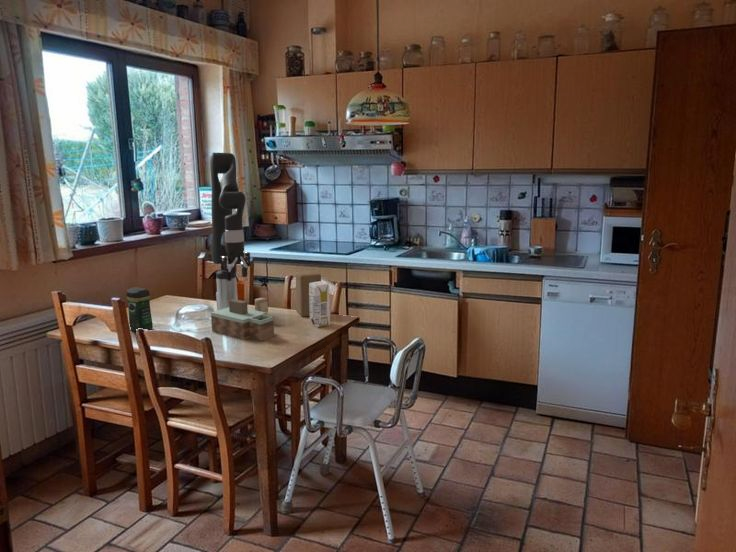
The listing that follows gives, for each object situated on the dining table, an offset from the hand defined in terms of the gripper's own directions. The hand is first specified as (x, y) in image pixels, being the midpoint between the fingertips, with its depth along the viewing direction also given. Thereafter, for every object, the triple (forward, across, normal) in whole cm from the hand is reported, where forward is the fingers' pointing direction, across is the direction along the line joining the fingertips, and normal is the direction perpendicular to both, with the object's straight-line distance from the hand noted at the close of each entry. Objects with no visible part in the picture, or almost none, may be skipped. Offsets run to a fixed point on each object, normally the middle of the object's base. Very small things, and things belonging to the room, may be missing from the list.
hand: (236, 278), depth 238 cm
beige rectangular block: (+23, -15, -2) cm, 28 cm away
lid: (+17, 0, +3) cm, 18 cm away
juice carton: (+24, -27, +22) cm, 42 cm away
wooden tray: (+23, 0, +3) cm, 23 cm away
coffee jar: (+23, +22, -38) cm, 50 cm away
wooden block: (+23, -38, +6) cm, 45 cm away
